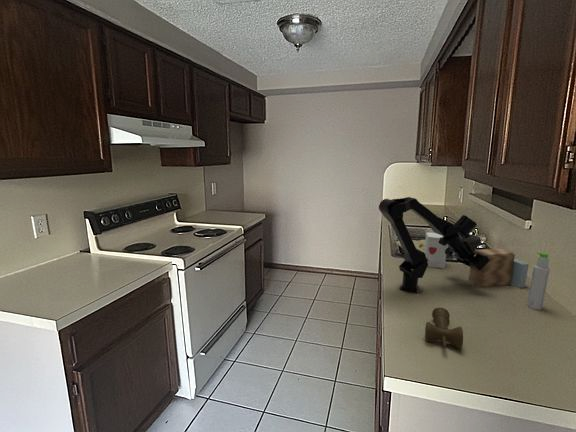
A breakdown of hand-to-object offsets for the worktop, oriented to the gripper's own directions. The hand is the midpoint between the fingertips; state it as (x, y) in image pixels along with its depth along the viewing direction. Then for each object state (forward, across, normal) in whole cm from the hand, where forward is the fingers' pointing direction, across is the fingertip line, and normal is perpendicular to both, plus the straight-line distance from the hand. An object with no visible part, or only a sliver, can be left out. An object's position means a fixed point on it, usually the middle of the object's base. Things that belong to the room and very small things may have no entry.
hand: (476, 268), depth 132 cm
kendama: (-23, -32, +33) cm, 51 cm away
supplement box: (+3, +23, +7) cm, 24 cm away
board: (+16, 0, -7) cm, 18 cm away
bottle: (+9, -22, +1) cm, 24 cm away
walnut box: (+10, 0, 0) cm, 10 cm away
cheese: (+1, +36, +9) cm, 37 cm away
